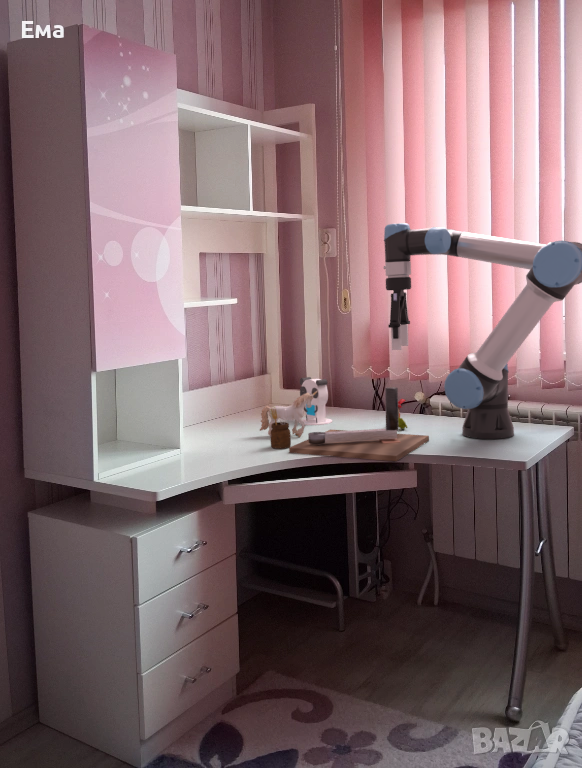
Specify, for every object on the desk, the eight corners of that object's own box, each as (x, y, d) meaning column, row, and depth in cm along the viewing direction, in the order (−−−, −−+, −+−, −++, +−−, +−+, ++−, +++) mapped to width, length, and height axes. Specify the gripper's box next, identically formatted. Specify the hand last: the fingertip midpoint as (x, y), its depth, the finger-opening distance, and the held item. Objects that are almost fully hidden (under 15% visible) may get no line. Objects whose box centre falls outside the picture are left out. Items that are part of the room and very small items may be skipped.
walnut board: (428, 440, 236) (428, 435, 235) (396, 461, 211) (396, 455, 211) (330, 434, 250) (330, 428, 250) (289, 452, 226) (289, 446, 226)
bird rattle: (383, 434, 258) (390, 427, 250) (379, 401, 261) (386, 393, 253) (402, 433, 259) (410, 426, 251) (398, 400, 262) (405, 392, 254)
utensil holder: (294, 445, 235) (293, 405, 233) (283, 450, 230) (281, 409, 228) (278, 444, 238) (276, 404, 237) (266, 448, 233) (264, 407, 231)
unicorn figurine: (324, 435, 248) (323, 393, 247) (262, 440, 245) (261, 397, 243) (319, 431, 255) (317, 390, 254) (259, 436, 252) (257, 394, 250)
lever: (310, 444, 225) (308, 393, 223) (307, 440, 230) (305, 391, 228) (400, 438, 229) (399, 388, 227) (396, 435, 233) (395, 386, 232)
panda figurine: (291, 421, 275) (290, 378, 273) (318, 417, 281) (317, 375, 279) (311, 426, 265) (310, 381, 263) (339, 422, 271) (337, 378, 269)
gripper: (392, 277, 250) (394, 344, 253) (378, 277, 226) (380, 351, 229) (416, 275, 248) (418, 343, 251) (404, 276, 224) (406, 351, 227)
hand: (400, 347), depth 240 cm, fingers open, 13 cm apart
